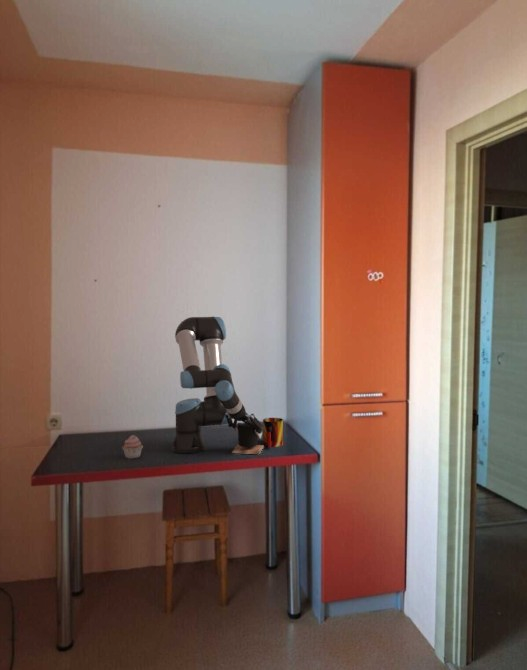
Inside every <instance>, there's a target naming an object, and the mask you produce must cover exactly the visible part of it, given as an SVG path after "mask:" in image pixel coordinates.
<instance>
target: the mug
mask: <svg viewBox="0 0 527 670" xmlns="http://www.w3.org/2000/svg"><path fill="white" fill-rule="evenodd" d="M262 425H263V427H262V444H264V445H266V446H265V447H267V446H268V448H278V447H282V446H284V419H283V418H280V417H265V418H263V419H262Z"/></svg>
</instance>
